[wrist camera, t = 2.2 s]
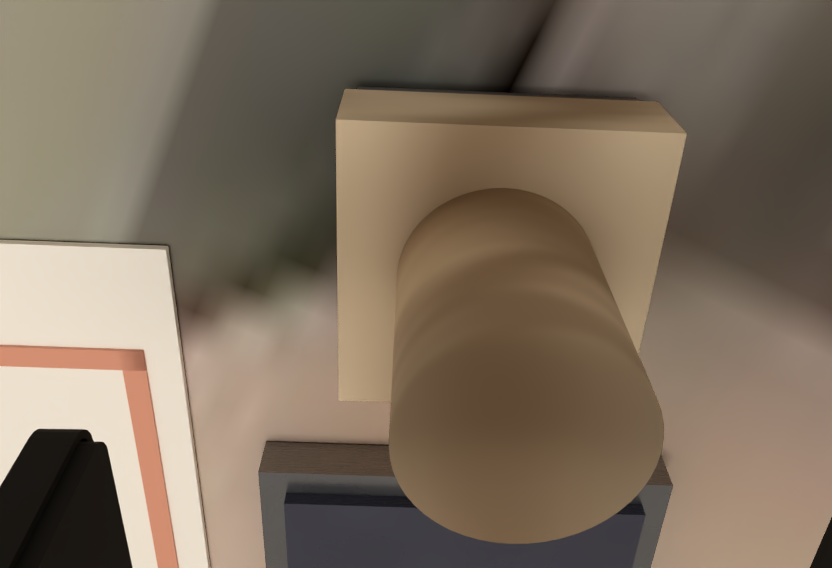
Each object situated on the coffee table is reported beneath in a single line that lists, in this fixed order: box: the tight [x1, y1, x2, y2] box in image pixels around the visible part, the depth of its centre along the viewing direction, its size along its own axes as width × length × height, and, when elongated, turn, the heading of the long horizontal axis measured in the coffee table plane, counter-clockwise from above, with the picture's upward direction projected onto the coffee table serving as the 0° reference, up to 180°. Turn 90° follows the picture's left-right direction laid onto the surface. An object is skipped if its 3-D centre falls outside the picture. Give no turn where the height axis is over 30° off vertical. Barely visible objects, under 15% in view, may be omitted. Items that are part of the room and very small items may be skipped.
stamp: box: [336, 86, 687, 544], centre depth 15 cm, size 6×6×8 cm
